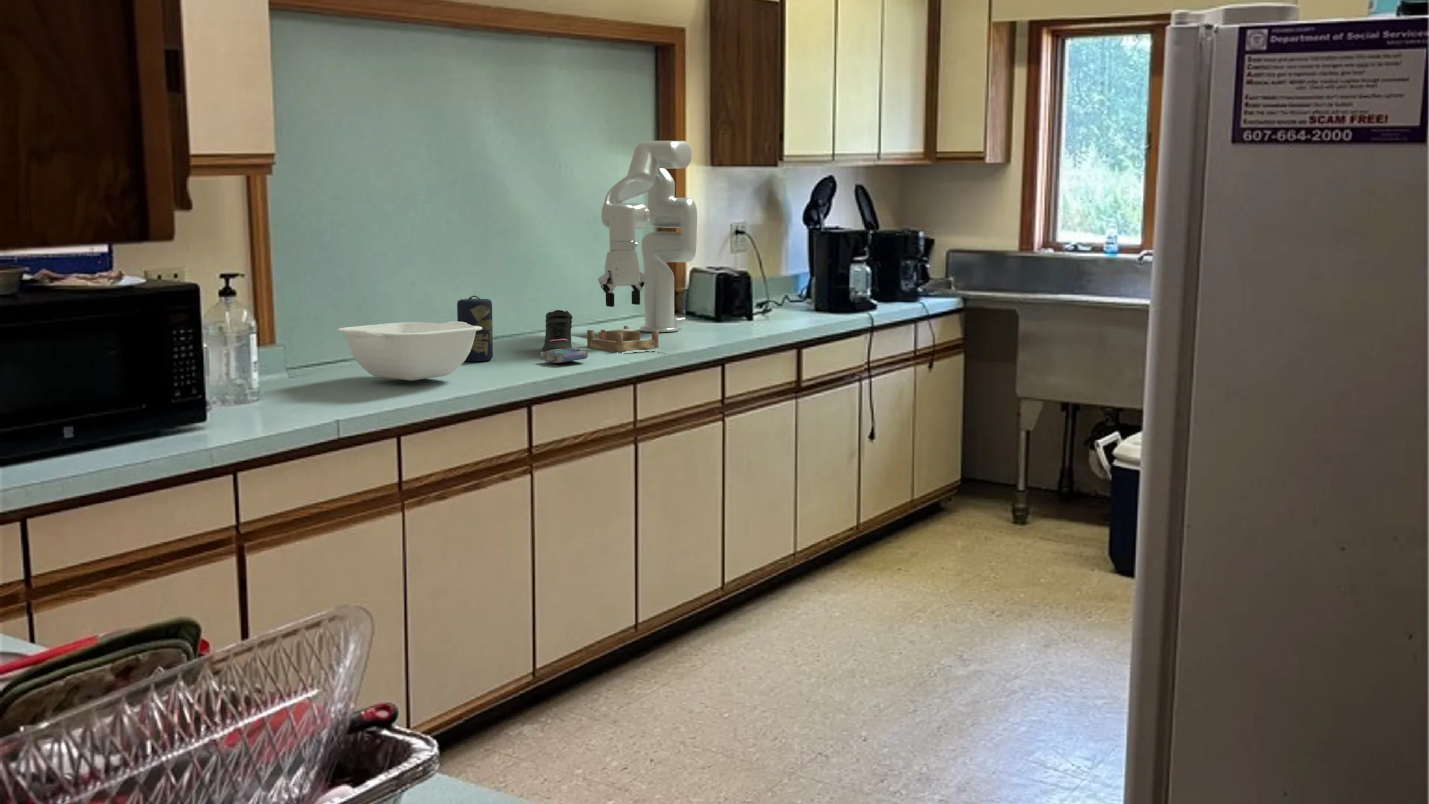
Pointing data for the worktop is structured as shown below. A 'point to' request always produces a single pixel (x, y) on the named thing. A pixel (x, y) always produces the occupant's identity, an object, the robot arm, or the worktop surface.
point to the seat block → (627, 335)
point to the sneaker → (557, 331)
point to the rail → (603, 333)
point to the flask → (564, 355)
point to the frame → (622, 343)
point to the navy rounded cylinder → (478, 315)
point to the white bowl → (411, 348)
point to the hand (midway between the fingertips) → (623, 305)
